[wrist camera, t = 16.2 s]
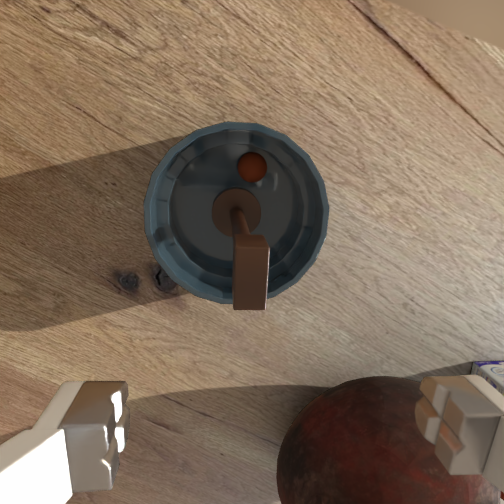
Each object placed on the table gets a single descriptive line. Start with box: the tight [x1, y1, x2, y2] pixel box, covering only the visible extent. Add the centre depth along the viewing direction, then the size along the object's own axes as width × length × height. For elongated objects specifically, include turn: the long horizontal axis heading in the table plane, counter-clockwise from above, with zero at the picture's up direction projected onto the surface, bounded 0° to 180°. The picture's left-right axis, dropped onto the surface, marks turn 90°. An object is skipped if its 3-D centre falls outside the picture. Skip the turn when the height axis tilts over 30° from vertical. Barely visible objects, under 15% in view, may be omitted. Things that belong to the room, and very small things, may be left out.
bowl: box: [144, 122, 329, 304], centre depth 35 cm, size 17×17×6 cm
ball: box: [238, 152, 267, 183], centre depth 35 cm, size 3×3×3 cm
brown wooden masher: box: [212, 187, 270, 310], centre depth 28 cm, size 5×5×20 cm
